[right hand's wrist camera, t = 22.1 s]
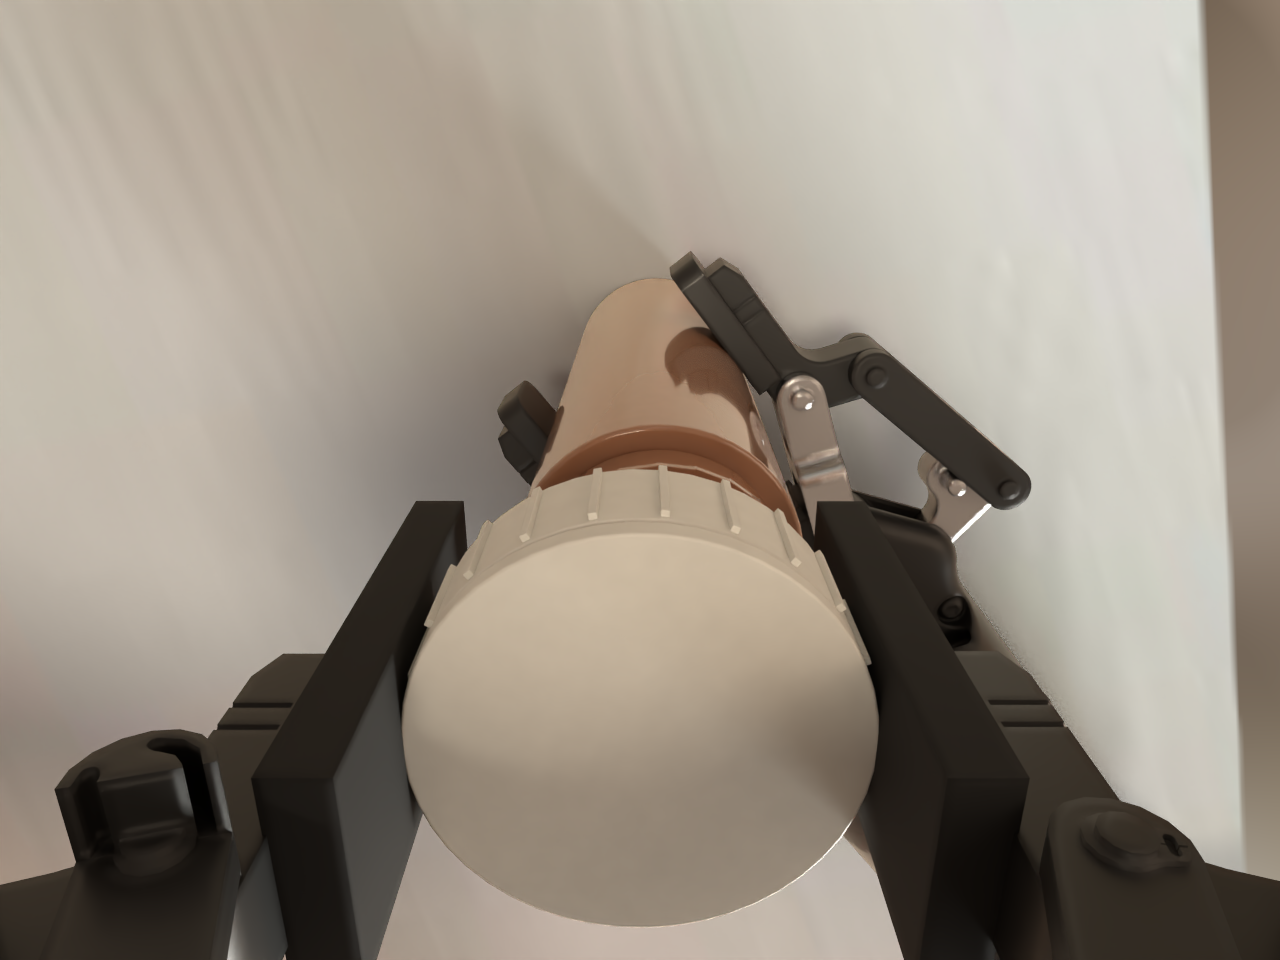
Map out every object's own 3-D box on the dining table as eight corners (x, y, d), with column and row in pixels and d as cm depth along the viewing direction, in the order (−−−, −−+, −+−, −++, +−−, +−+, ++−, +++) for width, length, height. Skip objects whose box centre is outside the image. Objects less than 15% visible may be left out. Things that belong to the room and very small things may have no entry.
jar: (738, 412, 31) (835, 730, 14) (595, 434, 31) (533, 767, 15) (720, 266, 29) (807, 440, 13) (568, 290, 29) (464, 490, 13)
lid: (886, 482, 12) (933, 552, 10) (810, 836, 14) (836, 949, 12) (434, 440, 11) (394, 502, 9) (428, 805, 13) (395, 916, 12)
